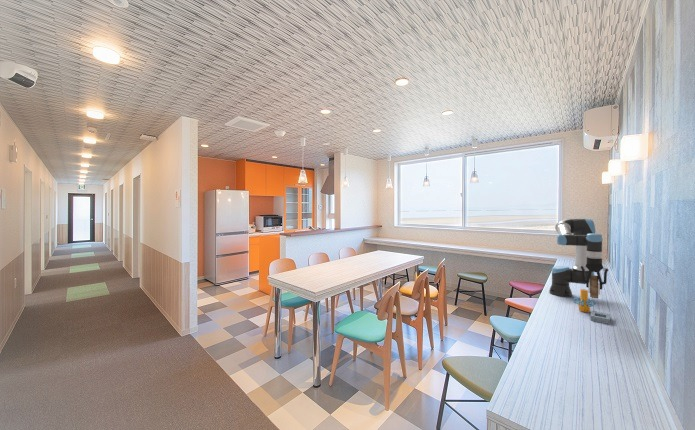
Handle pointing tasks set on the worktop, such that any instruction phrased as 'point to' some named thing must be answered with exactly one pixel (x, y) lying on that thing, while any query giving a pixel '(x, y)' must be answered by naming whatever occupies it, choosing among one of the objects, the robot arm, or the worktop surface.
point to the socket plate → (600, 317)
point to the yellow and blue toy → (584, 301)
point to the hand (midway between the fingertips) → (594, 293)
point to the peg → (594, 286)
